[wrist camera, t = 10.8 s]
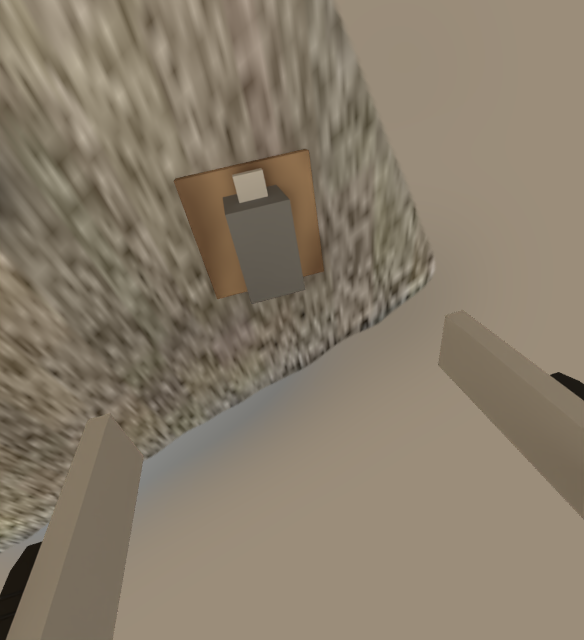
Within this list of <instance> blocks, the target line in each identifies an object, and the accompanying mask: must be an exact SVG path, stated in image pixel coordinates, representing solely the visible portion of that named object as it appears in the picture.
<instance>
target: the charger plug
mask: <svg viewBox="0 0 584 640" xmlns="http://www.w3.org/2000/svg"><path fill="white" fill-rule="evenodd" d="M232 177H233V181H234V185H235V188H236V192H237V194H234V195H230V196H226V197H223V204H224V211H225V216H226V220H227V223H228V227H229V230H230V233H231V237H232V240H233V243H234V247H235V250H236V253H237V257H238V260H239V264H240V267H241V270H242V274H243V277H244V280H245V284H246V287H247V290H248V294H249V297H250V301H251V304H254V303H258V302H261V301H265V300H269V299H273V298H276V297H280V296H284V295H288V294H291V293H295V292H299V291H303V290H305V285H304V280H303V274H302V268H301V262H300V256H299V250H298V245H297V239H296V233H295V227H294V221H293V216H292V210H291V204H290V199H289V198H288V197H287V196H286V195H285V194H284V193H283V192H282V190H281V189H280V188H279V187H278V186H277V185H272V186H268V187H266V184H265V179H264V174H263V170H262V169H261V168H259V169H255V170H251V171H246V172H242V173H238V174H233V175H232Z"/></svg>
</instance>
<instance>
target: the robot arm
mask: <svg viewBox="0 0 584 640" xmlns="http://www.w3.org/2000/svg"><path fill="white" fill-rule="evenodd" d="M438 365H439V366H440V368H441V369H442V370H443V371H444V372H445V373H446V374H447V375H448V376H449V377H450V378H451V379H452V380H453V381H454V382H455V383H456V384H457V386H458V387H459V388H460V389H461V390H462V391H463V392H464V393H465V394H466V395H467V396H468V397H469V398H470V399H471V400H472V401H473V403H475V405H476V406H477V407H478V408H479V409H480V410H481V411H482V412H483V413H484V414H485V415H486V416H487V417H488V418H489V419H490V421H491V422H492V423H493V424H494V425H495V426H496V427H497V428H498V429H499V430H500V431H501V432H502V433H503V434H504V435H505V436H506V437H507V438H508V440H509V441H510V442H511V443H512V444H513V445H514V446H515V447H516V448H517V449H518V450H519V451H520V452H521V453H522V454H523V456H524V457H525V458H526V459H527V460H528V461H529V462H530V463H531V464H532V465H533V466H534V467H535V468H536V469H537V470H538V471H539V472H540V474H541V475H542V476H543V477H544V478H545V479H546V480H547V481H548V482H549V483H550V484H551V485H552V486H553V487H554V488H555V489H556V491H557V492H558V493H559V494H560V495H561V496H562V497H563V498H564V499H565V500H566V501H567V502H568V503H569V504H570V505H571V506H572V507H573V509H574V510H575V511H576V512H577V513H578V514H579V515H580V516H581V517H582V518H583V519H584V384H583V383H581V382H580V381H578V380H575V379H573V378H571V377H569V376H566V375H564V374H562V373H560V372H557V373H554V374H552V375H549V374H547V373H546V372H545V371H543V370H542V369H541V368H539V367H538V366H537V365H535V364H534V363H533V362H531V361H530V360H529V359H527V358H526V357H525V356H523V355H522V354H521V353H519V352H518V351H517V350H515V349H514V348H512V347H511V346H510V345H509V344H507V343H506V342H505V341H503V340H502V339H501V338H499V337H498V336H497V335H495V334H494V333H492V332H491V331H490V330H489V329H487V328H486V327H484V326H483V325H482V324H481V323H479V322H478V321H476V320H475V319H474V318H473V317H471V316H470V315H469V314H467V313H466V312H465V311H463V310H461V311H458V312H454V313H451V314H448V315H445V321H444V328H443V335H442V342H441V349H440V355H439V363H438ZM143 458H144V456H143V454H142V453H141V452H140V451H139V449H138V448H137V447H136V446H135V444H134V443H133V442H132V441H131V439H130V438H129V437H128V436H127V434H126V433H125V432H124V430H123V429H122V428H121V427H120V425H119V424H118V423H117V422H116V420H115V419H114V418H113V417H112V415H111V414H110V413H109V414H106V415H103V416H99V417H96V418H92V419H89V420H88V421H87V424H86V426H85V429H84V432H83V434H82V437H81V440H80V442H79V445H78V448H77V450H76V453H75V456H74V458H73V461H72V464H71V466H70V469H69V472H68V474H67V477H66V480H65V483H64V485H63V488H62V491H61V493H60V496H59V499H58V501H57V504H56V507H55V509H54V512H53V515H52V517H51V520H50V523H49V525H48V528H47V531H46V533H45V536H44V539H43V541H42V542H39V543H36V544H33V545H30V546H28V547H27V548H26V549H25V551H24V552H23V553H22V555H21V556H20V558H19V559H18V561H17V562H16V564H15V565H14V566H13V568H12V569H11V571H10V573H9V575H8V578H7V580H6V582H5V585H4V587H3V590H2V592H1V594H0V640H113V634H114V628H115V622H116V617H117V611H118V604H119V598H120V593H121V587H122V581H123V576H124V570H125V563H126V558H127V552H128V546H129V540H130V534H131V528H132V522H133V517H134V511H135V505H136V499H137V493H138V487H139V481H140V476H141V469H142V463H143Z"/></svg>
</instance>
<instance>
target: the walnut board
mask: <svg viewBox="0 0 584 640" xmlns="http://www.w3.org/2000/svg"><path fill="white" fill-rule="evenodd" d="M259 168H261V169H262V170H263V174H264V179H265V184H266V187H268V186H272V185H277V186H278V187H279V188H280V189H281V190H282V192H283V193H284V194H285V195H286V196H287V197H288V198H289V199H290V204H291V210H292V216H293V221H294V227H295V233H296V239H297V245H298V250H299V256H300V262H301V268H302V274H303V277H304V276H308V275H311V274H315V273H319V272H323V271H324V268H323V260H322V252H321V244H320V236H319V228H318V220H317V212H316V204H315V196H314V189H313V181H312V173H311V165H310V157H309V150H307V149H303V150H299V151H294V152H290V153H285V154H281V155H277V156H272V157H268V158H264V159H259V160H255V161H251V162H246V163H242V164H237V165H233V166H229V167H224V168H220V169H216V170H211V171H207V172H203V173H198V174H194V175H189V176H185V177H181V178H176V179H175V180H174V183H175V186H176V188H177V191H178V194H179V197H180V199H181V202H182V205H183V207H184V210H185V213H186V216H187V218H188V221H189V224H190V226H191V229H192V232H193V234H194V237H195V240H196V243H197V245H198V248H199V251H200V253H201V256H202V259H203V262H204V264H205V267H206V270H207V272H208V275H209V278H210V281H211V283H212V286H213V289H214V291H215V294H216V297H217V299H220V298H224V297H227V296H231V295H235V294H239V293H243V292H247V291H248V290H247V287H246V284H245V280H244V277H243V274H242V270H241V267H240V264H239V260H238V257H237V253H236V250H235V247H234V243H233V240H232V237H231V233H230V230H229V227H228V223H227V220H226V216H225V211H224V204H223V197H226V196H230V195H234V194H237V192H236V188H235V185H234V181H233V177H232V175H233V174H238V173H242V172H246V171H251V170H255V169H259Z"/></svg>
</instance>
